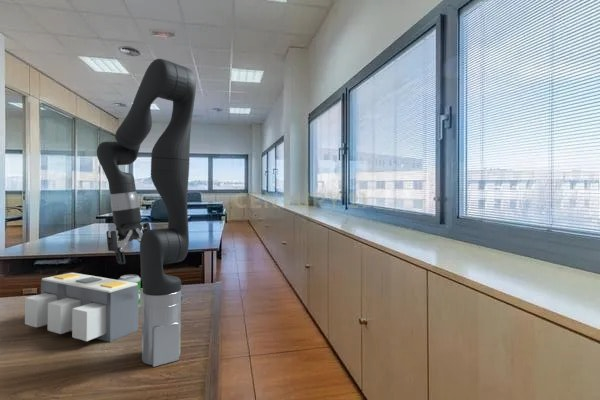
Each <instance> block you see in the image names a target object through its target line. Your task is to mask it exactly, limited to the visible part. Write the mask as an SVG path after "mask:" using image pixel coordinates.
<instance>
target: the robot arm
mask: <svg viewBox="0 0 600 400" xmlns="http://www.w3.org/2000/svg"><path fill="white" fill-rule="evenodd" d="M196 82H197V81H196V75H195V73H194V71H193V70H192V69H190V68H188V67H187V66H184V65H180V64H178V63H175V62H173V61H170V60H167V59H163V58H155V59H154V60H152V62H151V63H150V64H149V65H148V67H147V68H146V70H145V72H144V75H143V77H142V79H141V82H140V85H139V86H138V89H137V92H136V95H135V97H134V99H133V101H132V105H131V106H130V109H129V111H128V113H127V115H126V116H125V118H124V119H123V121H122V122H121V123H120V125H119V127H118V128H117V130H116V132H115V134H114V135H115V136H114V137H115V140H116V141H102V142H100V143H99V144H98V146H97V148H96V157H97V159H98V160H97V161H98V162H99V165H100V166H101V168H102V170H103V172H104V175H105V177H106V179H107V182H108V188H109V194H110V207H111V213H112V218H113V219H112V220H113V224H114V225H115V230H107V231H106V232H105V234H106V242H107V250H108V252H115V253H114V254H115V259H116V262H117V263H118V264H119V265H125V264H126V262H127V261H126V256H125V250H124V249H125V247H126V245H128V243H129V242H131V241H134V240H135V241H137V242H138V243H139V257H140V262H139V263H140V279H141V285H142V286H141V287H142V307H141V308H142V313H141V315H142V316H141V318H142V319H141V323H142V324H141V326H142V327H141V329H142V330H141V332H142V333H141V362H143V363H144V364H146V365H150V366H152V367H158V366H162V365H165V364H169V363H172V362H177V361H179V359H180V356H181V332H182V331H181V328H182V327H181V326H182V325H181V324H182V323H181V322H182V321H181V320H182V318H181V315H182V313H181V311H182V310H181V309H182V305H181V304H182V280H181V279H180V277H178V276H175V275H170V274H166V273H165V272H164V266H163V265H169V264H176V263H180V262H182V261H184V260H185V259H186V257H187V255H188V252H189V245H190V244H189V243H190V242H189V241H190V237H189V216H188V198H189V197H188V191H189V176H190V146H191V145H190V144H191V131H192V129H191V128H192V120H193V114H194V107H195V106H194V105H195V101H196V100H195V98H196V92H197V91H196V89H197V83H196ZM157 98H158V99H162V100H166V101H171V102H172V110H171V112H172V113H171V118H170V121H169V123H168V125H167V127H166V128H165V130H164V131H163V132H162V134H161V135H160V136H159V137H158V139H157V140H156V142H155V143H154V146H153V147H152V150H151V156H150V157H151V158H150V159H151V160H150V178H151V181H152V183H153V186H154V187H155V190H156V192H157V193H158V194H159V196H160V198H161V199H162V201H163V203H164V205H165V207H166V212H167V219H168V220H167V221H168V222H167V223H168V224H167V228H157V229H156V228H155V229H154V228H152V229H151V225H150V224H151V223H149V222H141V221H142V215H141V208H140V201H139V197H138V194H137V189H136V183H135V177H134V175H133V174H132V173H130V172H124V171H122V170H121V169H120V167H119V166H126V165H127V166H128V165H129V166H130V165H131V164H133V163H134V162H135V161H136V160H137V158H138V155H139V151H140V147H141V144H142V143H143V142H144V141H145V139H146V138H147V137H148V135H149V134H150V132H151V130H152V127H153V117H152V111H151V106H152V104H153V103H154V102H155V100H157Z"/></svg>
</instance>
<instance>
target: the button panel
mask: <svg viewBox="0 0 600 400" xmlns="http://www.w3.org/2000/svg"><path fill="white" fill-rule="evenodd" d="M43 293H53V294H57V295H58V300H61V299H65V298H69V297H72V298H77V299H81V306H83V305H86V304H90V303H93V302H96V303H101V304H105V305H107V325H106V334H104V335H101V336H99V337H96V338H95V339H98V340H102V341H105V342H108V343H112V342H113V341H116V340H119V339H121V338H124V337H126V336H128V335H131V334H133V333H135V332H137V331H139V307H138V305H139V285H138V283H133V282H127V281H121V280H118V279H114V278H107V277H102V276H95V275H89V274H83V273H78V272H68V273H63V274H58V275H53V276H49V277H42V278H41V279H40V294H43ZM45 326H48V324H46V325H45ZM70 333H72V330H71V331H70Z"/></svg>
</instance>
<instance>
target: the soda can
mask: <svg viewBox="0 0 600 400" xmlns="http://www.w3.org/2000/svg"><path fill="white" fill-rule="evenodd" d="M117 280H121V281H127V282H133V283H138V285H139V305H138V308H140V306H141V283H142V280H141V276H139V275H137V274H124V275H121V276H120V277H119V278H118V279H117Z"/></svg>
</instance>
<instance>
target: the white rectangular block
mask: <svg viewBox="0 0 600 400" xmlns="http://www.w3.org/2000/svg"><path fill="white" fill-rule="evenodd" d="M57 300H58V295H57V294H53V293H43V294H41V293H40V294H36V295H35V294H34V295H31V296H28V297H24V324H25V325H27V326H29V327H35V328H39V327H43V326H47V325H46V324H48V303H50V302H53V301H57Z"/></svg>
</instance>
